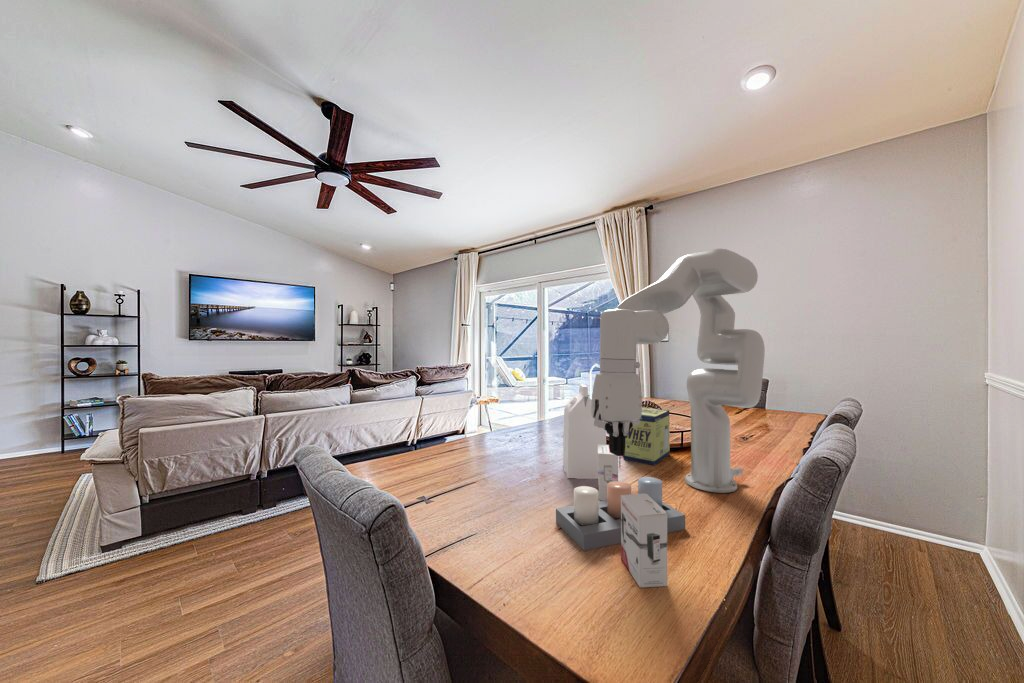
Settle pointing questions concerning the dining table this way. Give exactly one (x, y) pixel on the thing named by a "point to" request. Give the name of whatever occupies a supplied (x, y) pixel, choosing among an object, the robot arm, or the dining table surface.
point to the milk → (581, 438)
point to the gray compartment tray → (606, 526)
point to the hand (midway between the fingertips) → (617, 453)
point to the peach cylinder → (616, 497)
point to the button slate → (651, 488)
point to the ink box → (644, 539)
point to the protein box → (649, 438)
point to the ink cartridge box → (606, 469)
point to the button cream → (586, 505)
